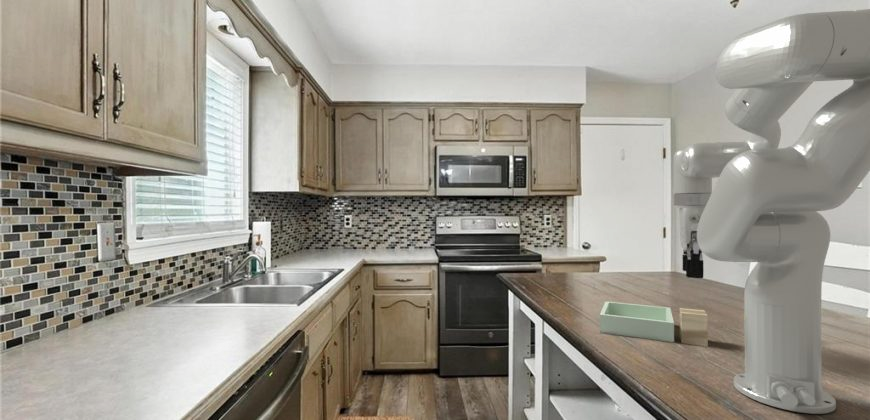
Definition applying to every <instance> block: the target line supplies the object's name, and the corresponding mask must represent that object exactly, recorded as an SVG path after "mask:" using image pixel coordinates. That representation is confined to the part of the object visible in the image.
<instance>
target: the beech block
mask: <svg viewBox="0 0 870 420" xmlns="http://www.w3.org/2000/svg"><path fill="white" fill-rule="evenodd" d="M708 316H709V315H708V314H707V312H706V310H703V309H694V308H693V309H692V308H682V307H679V339H680V341H681V344H686V345H693V346H694V345H695V346H702V347H709V342H708V339H709V338H708V336H709V335H708V333H709V332H708V331H709V329H708V327H709V326H708V322H709V321H708V319H709V318H708Z"/></svg>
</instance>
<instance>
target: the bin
mask: <svg viewBox="0 0 870 420" xmlns="http://www.w3.org/2000/svg"><path fill="white" fill-rule="evenodd" d="M599 333H602V334H607V335H617V336H625V337H629V338H630V337H632V338H639V339H645V340H647V339H648V340H652V341H653V340H654V341H660V342H661V341H662V342H669V343H675V322H674V319H673V315H672V309H671V307H667V306H656V305H648V304H646V305H645V304H637V303H627V302H616V301H605V302H604V304H603V306H602V309H601V311H600V313H599Z"/></svg>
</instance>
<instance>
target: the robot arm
mask: <svg viewBox="0 0 870 420" xmlns="http://www.w3.org/2000/svg"><path fill="white" fill-rule="evenodd" d="M715 78H716V80H717V82H718V84H720V86H722V87H724V88H725V89H729V90H730V89H731V90H734V92H733V93H732V95H731V96H730V97H729V98H728V100H727V101H726V103H725V106H724V113H725V116H726V118H727V119H728V120H729V122H730V123H731V124H733V125H734V126H736V127H737V128H739V129H741V130H743V131H746V132H748V133H751V134H749V136H748V137H747V138H746V139H745V140H743V141H726V142H725V141H723V142H720V141H719V142H718V141H717V142H698V143H692V144H690V145H688V146H687V147H685V148H683V149H679V150H676V152H674V155H673V209H675V208H676V209H678V208H679V209H678V212H679V237H680V246H681V248H682V249H683V250H682V251H683V252H682V253H683V254H682V271H683V272H685V275H686V278H688V279H689V278H691V279H703V278H704V259H703V255H704V256H707V257H708V258H710V259H712V260H714V261H718V262H719V261H720V262H727V263H728V262H729V263H732V262H733V263H756V264H755V266H754V267H753V268H752V270H751V271H750V273H749V275H748V277H747V279H746V281H745V285H744V295H743V298H744V299H743V300H744V303H743V304H744V310H743V315H744V314H745V319H744V372H742V373H738V374H736V375H734V377H733V385H734V387H735V389H736V390H737V391H738V392H740V393H741V394H743V395H744V396H746V397H748V398H749V399H752V400H754V401H757V402H759V403H762V404H764V405H768V406H771V407H775V408H777V409H780V410H785V411H789V412H795V413H796V412H797V413H801V414H808V415H809V414H811V415H823V414H829V413H832V412H834V411H836V409H837V403H836V399H835V398H834V396H832V395H831V394H830V393H828V392H827V391H825V390H823V387H822V385H823V384H822V381H823V380H822V379H823V377H822V376H823V375H822V373H823V372H822V289H823V288H822V283H823V282H822V281H823V271H824V265H825V263H826V262H825V261H826V259H827V254H828V250H829V247H830V242H831V228H830V225H829V224H828V221H827V219H825V217H824V216H823V215H822V214H821V213H819V212H825V211H830V210H833V209H837V208H838V207H840V206H842V205H843V204H844V203H845V202H846V201H847V200H849V198H850V197H851V196H852V194H854V192H855V191H856V190H857V189H858V187H859V185H861V183H862V182H863V180H864V179H865V178H866V176H867V175H868V174H869V172H870V8H866V9H865V8H864V9H855V10H842V11H841V10H838V11H824V12H823V11H821V12H807V13H800V14H794V15H790V16H786V17H784V18H781V19H778V20H775V21H772V22H769V23H767V24H765V25H761V26H758V27H755V28H752V29H751V30H748V31H746V32H744V33H741V34H739V35H738V36H736V37H734V38H733V39H732V40H731V41H730V42H729V43H728V44H727V45H726V46H725V47H724V49H723V50H722V51H721V53H720V54H719V57H718V59H717V61H716V66H715ZM847 80H848V81H851V80H852V83H853V84H852V85H850V86H849V87H848V88H847V89H845V90H844V91H841V92H840V93H839V94H837V95H836V96H834V97H833V98H831V99H830V100H829V101H828V102H826V103H825V104H824V105H823V106H822V107H820V108H819V109H818V111H816V112H815V113H814V115H813V116H812V117H811V118H810V119H809V121H808V123H807V125H806V126H805V129H804V130H803V132H802V134H801V135H800V136H799V138H798V139H797V140H796V142H794V143H793V144H792V145H790V146H788V147H783V148H782V147H781V148H779V145H780V141H781V136H782V130H781V125H780V122H779V120H780V119H781V117H783V115H785V113H786V112H787V111H788V110H789V109H790V108H791V107H792V106H793V105H794V103H796V101H798V99H799V98H800V97H801V96H802V95H803V94H804V93H805V92H806V91H807V90H808V88H809V87H811V85H812V84H813V83H815V82H831V81H847ZM714 178H717V181H716V183H715V185H714V187H713V179H714Z"/></svg>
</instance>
